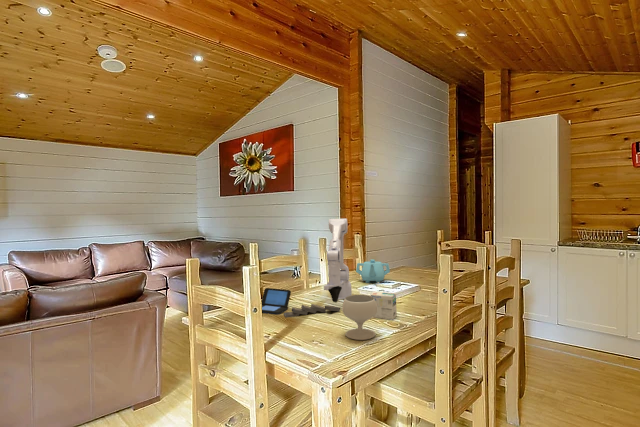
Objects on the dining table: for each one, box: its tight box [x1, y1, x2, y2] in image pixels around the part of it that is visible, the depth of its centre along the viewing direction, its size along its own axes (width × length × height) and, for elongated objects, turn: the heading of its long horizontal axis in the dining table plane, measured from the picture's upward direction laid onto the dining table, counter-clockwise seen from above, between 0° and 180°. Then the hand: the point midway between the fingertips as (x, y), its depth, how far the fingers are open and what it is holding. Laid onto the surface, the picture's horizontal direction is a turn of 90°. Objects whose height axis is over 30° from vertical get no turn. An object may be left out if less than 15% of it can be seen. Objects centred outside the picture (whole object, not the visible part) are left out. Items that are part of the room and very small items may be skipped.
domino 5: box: [324, 305, 341, 312], centre depth 183 cm, size 2×4×6 cm
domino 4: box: [310, 303, 326, 313], centre depth 183 cm, size 2×4×6 cm
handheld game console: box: [261, 287, 292, 315], centre depth 189 cm, size 16×13×9 cm
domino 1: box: [283, 311, 300, 318], centre depth 179 cm, size 2×4×6 cm
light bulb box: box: [370, 290, 397, 320], centre depth 174 cm, size 11×7×11 cm, turn 65°
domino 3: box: [301, 304, 318, 314], centre depth 182 cm, size 2×4×6 cm
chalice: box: [341, 294, 377, 341], centre depth 151 cm, size 14×14×15 cm
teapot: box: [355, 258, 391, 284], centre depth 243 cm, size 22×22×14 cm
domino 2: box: [291, 307, 309, 316], centre depth 180 cm, size 2×4×6 cm
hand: (335, 301), depth 185 cm, fingers closed
